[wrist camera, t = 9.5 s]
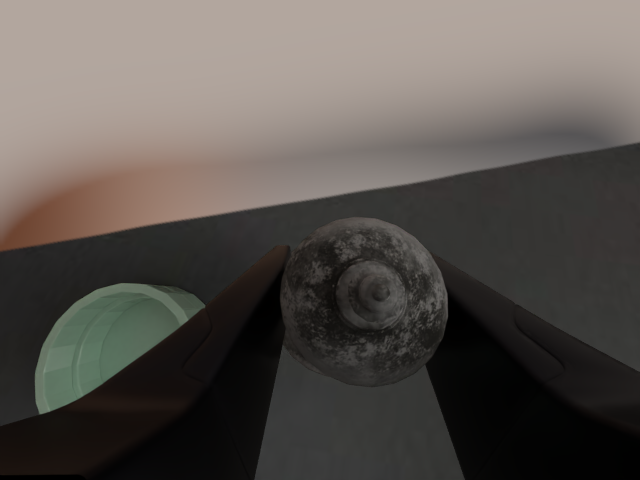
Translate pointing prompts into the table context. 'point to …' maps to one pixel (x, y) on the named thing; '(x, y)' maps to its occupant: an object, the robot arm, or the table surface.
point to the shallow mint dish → (106, 338)
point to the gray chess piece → (363, 302)
